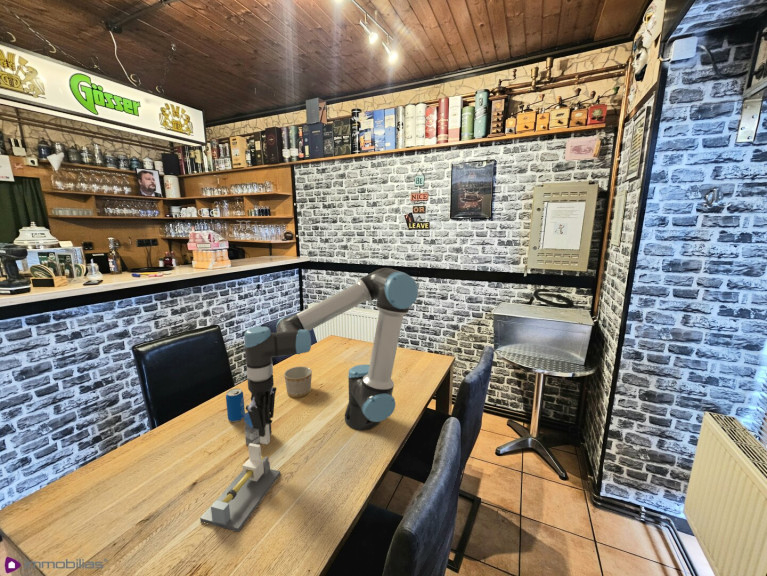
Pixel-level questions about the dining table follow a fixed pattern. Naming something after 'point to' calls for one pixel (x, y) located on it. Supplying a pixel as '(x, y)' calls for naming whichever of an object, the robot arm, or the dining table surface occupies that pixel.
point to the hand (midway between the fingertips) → (265, 442)
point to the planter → (298, 381)
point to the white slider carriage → (254, 462)
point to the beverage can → (235, 405)
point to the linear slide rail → (240, 499)
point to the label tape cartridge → (252, 431)
